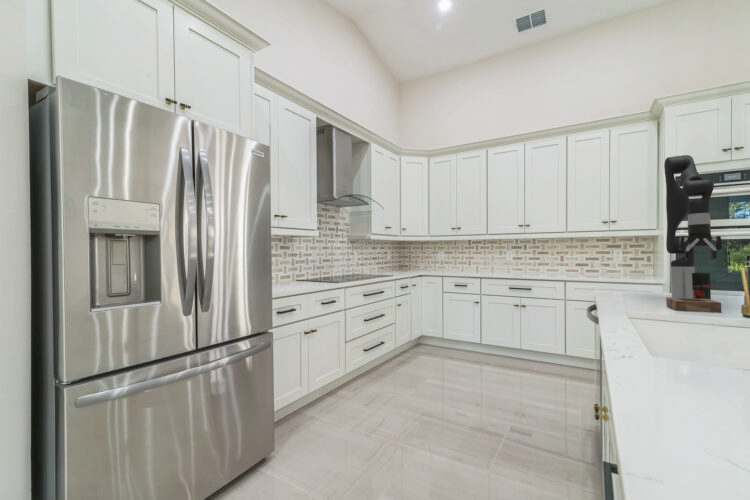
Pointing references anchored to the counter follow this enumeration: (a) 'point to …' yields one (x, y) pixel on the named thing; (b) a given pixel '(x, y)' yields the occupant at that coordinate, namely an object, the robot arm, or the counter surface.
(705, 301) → the socket block
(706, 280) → the deodorant
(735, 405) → the counter surface
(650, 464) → the counter surface
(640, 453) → the counter surface
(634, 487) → the counter surface
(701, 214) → the robot arm
